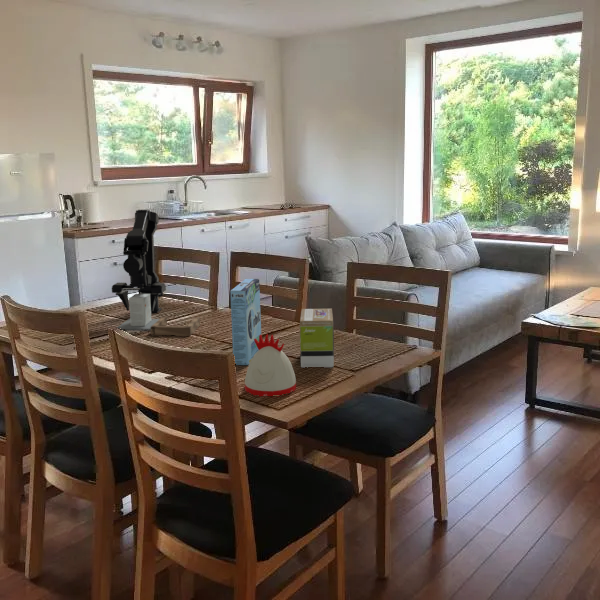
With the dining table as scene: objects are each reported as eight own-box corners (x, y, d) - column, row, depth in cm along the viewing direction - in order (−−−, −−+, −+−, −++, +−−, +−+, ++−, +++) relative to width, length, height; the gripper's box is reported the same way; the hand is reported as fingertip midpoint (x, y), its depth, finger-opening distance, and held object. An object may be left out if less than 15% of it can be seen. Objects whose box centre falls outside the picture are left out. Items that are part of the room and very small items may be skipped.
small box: (137, 320, 251) (135, 293, 249) (151, 320, 251) (150, 293, 248) (130, 326, 243) (128, 298, 241) (145, 326, 243) (143, 298, 241)
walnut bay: (163, 324, 247) (162, 316, 247) (200, 325, 246) (199, 317, 245) (150, 335, 233) (150, 327, 233) (190, 335, 232) (189, 327, 231)
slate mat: (129, 320, 255) (129, 318, 254) (165, 320, 253) (165, 319, 253) (116, 329, 241) (116, 328, 241) (153, 330, 240) (153, 328, 240)
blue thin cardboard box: (248, 366, 199) (246, 291, 194) (231, 365, 200) (229, 290, 195) (262, 347, 218) (260, 278, 213) (247, 346, 219) (245, 278, 214)
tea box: (301, 353, 211) (301, 307, 208) (333, 353, 211) (333, 307, 208) (300, 368, 197) (299, 319, 193) (334, 368, 196) (334, 319, 193)
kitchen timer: (255, 377, 189) (254, 326, 186) (302, 381, 185) (301, 329, 182) (237, 394, 176) (235, 339, 173) (286, 399, 172) (286, 343, 169)
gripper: (169, 265, 249) (171, 306, 253) (120, 265, 251) (123, 305, 255) (160, 270, 239) (162, 313, 242) (109, 270, 240) (112, 312, 244)
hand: (140, 310), depth 246 cm, fingers open, 9 cm apart
